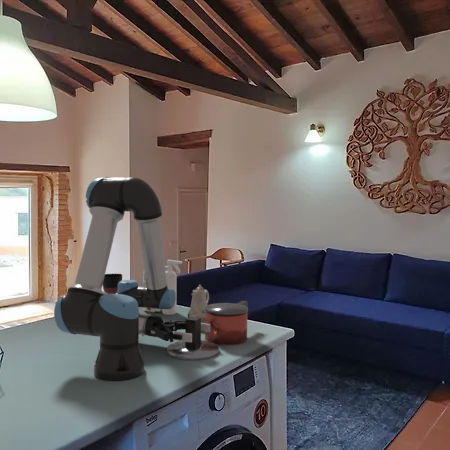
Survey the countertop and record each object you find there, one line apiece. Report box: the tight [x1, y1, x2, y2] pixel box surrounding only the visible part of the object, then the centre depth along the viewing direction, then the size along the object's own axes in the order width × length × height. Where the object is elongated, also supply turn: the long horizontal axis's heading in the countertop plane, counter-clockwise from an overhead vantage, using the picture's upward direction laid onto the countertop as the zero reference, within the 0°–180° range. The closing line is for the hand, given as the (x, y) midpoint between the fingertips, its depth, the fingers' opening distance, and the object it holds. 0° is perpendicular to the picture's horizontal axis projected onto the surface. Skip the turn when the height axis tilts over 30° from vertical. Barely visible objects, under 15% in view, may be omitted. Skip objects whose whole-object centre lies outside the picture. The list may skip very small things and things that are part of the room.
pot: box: [204, 300, 249, 346], centre depth 186 cm, size 27×17×12 cm, turn 155°
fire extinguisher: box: [154, 259, 183, 316], centre depth 220 cm, size 7×12×25 cm, turn 90°
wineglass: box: [102, 273, 123, 294], centre depth 206 cm, size 8×9×20 cm
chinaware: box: [187, 284, 210, 323], centre depth 206 cm, size 28×17×17 cm, turn 155°
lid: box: [166, 317, 220, 361], centre depth 166 cm, size 18×18×12 cm
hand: (201, 333), depth 165 cm, fingers open, 13 cm apart
